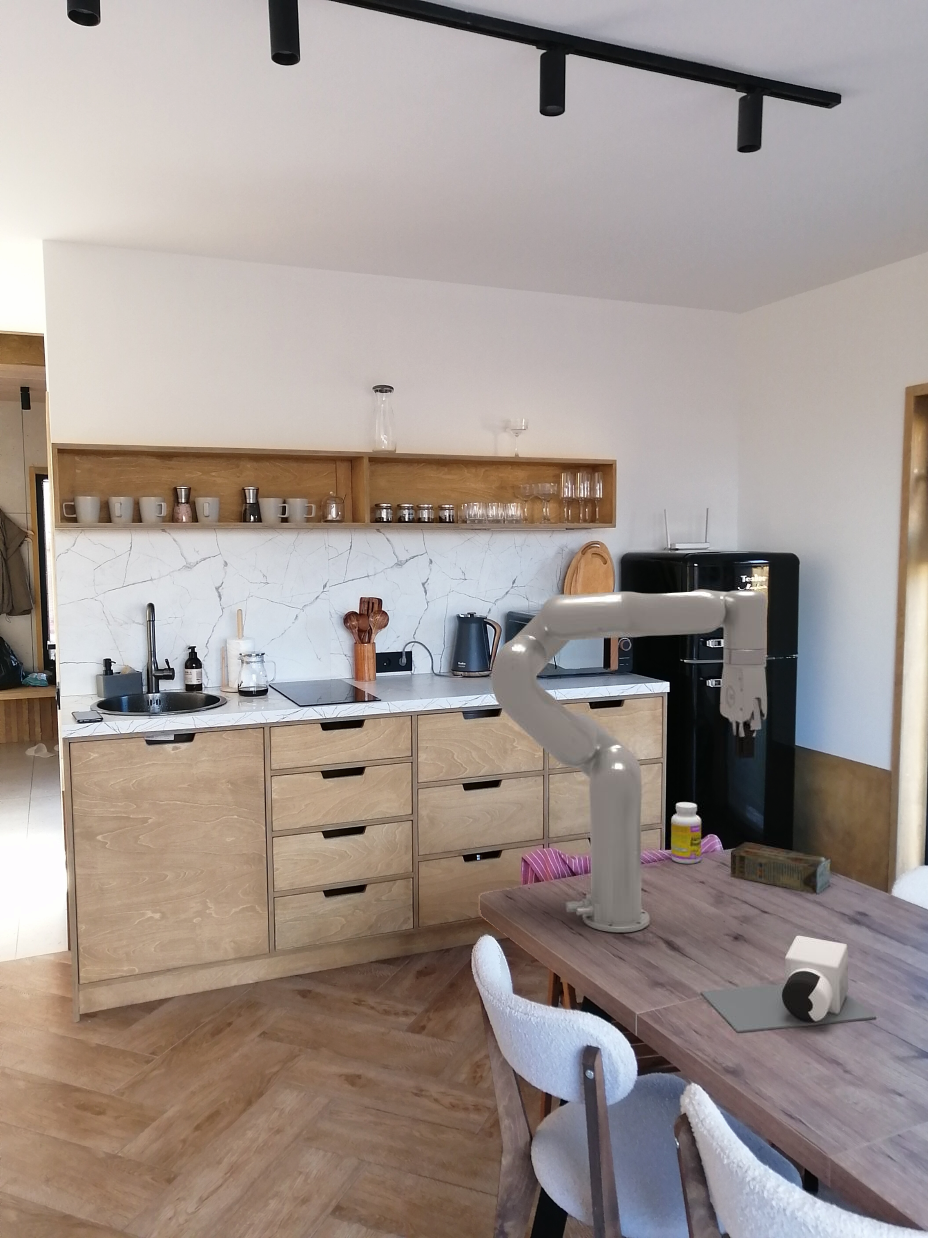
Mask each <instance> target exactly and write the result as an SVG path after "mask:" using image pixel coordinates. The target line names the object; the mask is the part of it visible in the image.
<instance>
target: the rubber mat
mask: <svg viewBox="0 0 928 1238" xmlns="http://www.w3.org/2000/svg"><path fill="white" fill-rule="evenodd" d="M785 984H786V983H779V984H769V985H768V984H767V985H756V986H746V987H744V986H743V987H736V988H735V987H734V988H725V989H712V990H705V991H704V990H702V991H700V995H702V997H703V998H704V1000H706V1001H707V1002H708V1003H709V1004H710V1006H712V1007H713V1009H715V1011H716V1012H717V1013H718V1014H719V1015H720V1016H721V1017H722V1018H723V1019H724V1020H725V1021H726V1023H727V1024H729V1025H730V1026H731V1028H732V1029H733V1030H735V1032H736V1033H738V1034H739V1033H741V1034H742V1033H747V1032H748V1033H749V1032H751V1033H752V1032H758V1031H769V1030H779V1029H790V1028H797V1027H798V1028H799V1027H808V1026H816V1025H819V1026H820V1025H828V1024H829V1025H830V1024H838V1023H848V1022H854V1021H855V1022H857V1021H868V1020H876V1019H877V1016H876V1015H875V1014H873V1013H872V1012H871V1011H870V1010H868V1009H867V1008H866V1007H864V1006H863V1005H862V1004H861V1003H859V1002H858V1001H857V1000H856V999H854V998H853V997H852V996H850V995H849V994H848V993H847V994H846V996H845V999H844V1001H843V1004H842V1007H841V1009H840V1012H839V1013H838V1014H835V1013H830V1012H827V1013H826V1015H825V1016H824V1017H823V1018H822V1019H821V1020H819V1021H815V1022H806V1021H802V1020H800V1019H798V1018H796V1017H794V1016H793V1015H792V1014H791V1013H790V1012H789V1011H788V1010H787V1009H786V1007H785V1005H784V1003H783V1000H782V991H783V988H784V986H785Z"/></svg>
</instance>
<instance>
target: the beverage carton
mask: <svg viewBox="0 0 928 1238" xmlns="http://www.w3.org/2000/svg"><path fill="white" fill-rule="evenodd" d="M830 867H831V859H830V858H826V857H823V856H818V855H812V854H807V853H804V852H799V851H798V852H797V851H794V850H789V849H783V848H778V847H775V846H774V847H773V846H769V845H768V846H767V845H763V844H759V843H753V842H747V841H744V842H743V843H741V844H740V845H738V846H737V847H735V848H733V849H732V850H731V851H730V876H731V877H734V878H737V879H738V878H739V879H741V880H748V881H751V882H756V881H757V883H761V882H762V883H761V884H765V883H767V884H766V885H770V884H771V885H770V886H774V885H777V886H776V887H779V886H782V887H781V888H784V887H787V888H786V889H788V888H791V889H790V890H793V889H796V890H795V891H798V890H800V891H799V892H803V891H806V892H805V893H808V892H811V893H810V894H813V893H816V894H815V895H819V894H820V893H821V892H822V891H823V890H825V889H826V888H827V887H829V886H830V884H831V883H830V882H831V881H830V879H831V870H830V869H831V868H830ZM772 884H773V885H772ZM820 891H821V892H820ZM819 892H820V893H819ZM818 893H819V894H818Z"/></svg>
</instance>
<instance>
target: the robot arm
mask: <svg viewBox="0 0 928 1238" xmlns="http://www.w3.org/2000/svg"><path fill="white" fill-rule="evenodd" d="M718 628H723V664H722V665H723V668H722V672H721V674H722V675H721V684H720V701H719V703H720V704H719V711H720V714H721V715H722V716H723V717H725V718H726V719H728V721H729V722H730V723H731V724H732V734H733V736H734V737H733V739H734V740H733V741H734V742H733V746H734V747H733V750H734V751H733V756H734V757H736V758H738V759H753V758H755V737H756V735H757V730H761V729H762V723H761V722H764V721H765V720H766V718H767V713H768V696H767V695H768V694H767V679H766V671H765V667H767V596H766V594H765V593H764V592H763V591H760V590H745V589H744V590H731V591H719V590H710V589H704V588H703V589H701V588H700V589H696V590H692V591H689V592H687V591H686V592H671V593H670V592H667V593H641V592H635V591H616V592H615V591H614V592H598V593H580V594H558V595H555V596H552V597H550V598H548V599H547V600H546V601H545V602H544V603H543V604H542V606H541V609H540V610H539V612H538V613H537V614H536V615H535V616H534V617H533V618H532V619H531V620H530V621H529V622H528V623H527V624H526V625H525V626H524V627H523V628H522V629H521V630H520V631H519V632H518V633H517V634H516V635H515V636H514V637H513V638H512V639H511V640H509V641H507V642H506V643H504V644H503V645H502V646H501V648H500V649H499V650H498V651H497V653H496V655H495V658H494V662H493V664H492V669H491V687H492V692H493V694H494V697H495V700H496V702H497V703H498V705H499V706H500V708H501V709H502V711H503V712H505V714H506V715H507V716H508V717H509V718H510V719H511V720H512V721H513V722H515V723H516V724H517V725H518V726H519V727H520V728H521V729H522V730H523V731H525V732H526V734H527V735H528V736H529V737H530V738H532V739H533V740H534V741H535V742H536V743H537V744H538V745H539V746H540V747H542V748H543V749H544V750H545V751H546V752H548V753H549V755H550V756H551V757H552V758H553V759H555V761H557V762H558V763H559V764H560V765H562V766H565V767H568V768H577V769H579V770H580V771H581V772H582V773H583V774H584V775H586V776H587V777H588V778H589V784H588V785H589V786H588V787H589V789H588V791H589V792H588V793H589V794H588V795H589V819H590V820H589V821H590V822H589V823H590V825H589V832H590V834H589V837H590V838H589V840H590V893H587V894H586V895H585V897H586V898H584V899H581V901H566V902H565V909H566V913H573V912H574V913H575V912H576V915H577V916H582V921H583V922H584V923H585V924H586V925H587V926H589V927H591V928H593V929H595V930H599V931H604V932H608V933H632V932H637V931H640V930H641V931H642V930H643V929H645V928H646V927H648V926H649V925H650V922H651V921H650V920H651V919H650V918H651V916H650V915H649V913H648V912H647V911H646V910H644V909H643V908H642V797H643V796H642V795H643V793H642V791H643V784H642V770H641V766H640V763H639V760H638V759H637V757H636V756H635V754H634V753H633V752H632V751H630V749H628V748H627V747H626V746H625V745H624V744H623V743H621V741H619V740H618V739H617V738H616V737H615V736H613V735H612V734H611V733H610V732H609V731H608V730H607V729H606V728H604V726H602V725H601V724H599V723H598V722H597V721H596V720H595V719H594V718H592V717H591V716H589V714H586V713H583V712H580V711H570V710H569V709H567V708H566V707H565V706H564V705H563V704H562V703H561V702H559V701H558V700H557V699H556V698H555V697H554V696H553V695H552V694H551V693H549V692H548V691H547V690H545V689H544V688H543V687H542V686H541V685H540V684H539V682H538V679H537V675H539V674H540V673H541V671H542V670H543V669H544V668H545V667H546V666H547V665H548V664H549V663H550V662H551V661H552V660H553V659H554V658H555V656H556V657H557V655H558V653H560V652H561V651H562V650H563V649H564V647H565V646H567V645H568V644H569V642H570V641H573V640H575V641H576V640H588V639H590V640H591V639H611V638H616V639H617V638H638V637H639V638H640V637H647V636H649V637H650V636H674V635H676V636H677V635H695V634H696V635H697V634H706V633H711V632H713V631H716V630H717V629H718Z"/></svg>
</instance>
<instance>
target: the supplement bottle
mask: <svg viewBox="0 0 928 1238" xmlns="http://www.w3.org/2000/svg"><path fill="white" fill-rule="evenodd" d="M675 810H676V813H675V814H673V816H671V821H670V824H671V827H670V829H671V830H670V831H671V833H670V835H671V837H670V841H671V842H670V845H671V846H670V847H671V848H670V855H671V856H670V858H671V859H672V861H674V862H676V863H679V864H686V865H687V864H688V865H689V864H690V865H691V864H697V863H699V862H700V861H701V859H702V858H701V857H702V818H701V817H700V816H699V815H697V814H696V813H697V811H698V805H697V804H696V803H694V802H687V801H683V802H682V801H681V802H677V803H676V804H675Z"/></svg>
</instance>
